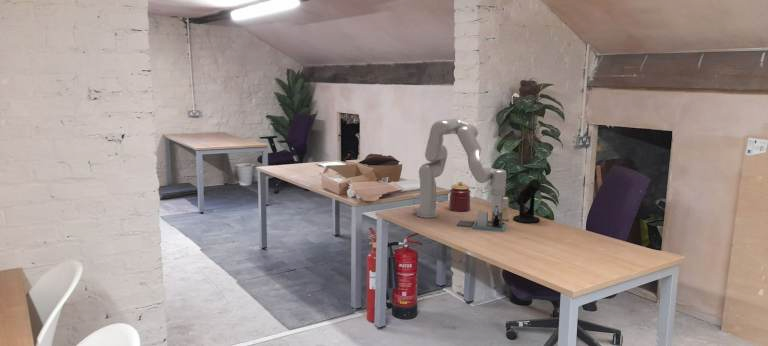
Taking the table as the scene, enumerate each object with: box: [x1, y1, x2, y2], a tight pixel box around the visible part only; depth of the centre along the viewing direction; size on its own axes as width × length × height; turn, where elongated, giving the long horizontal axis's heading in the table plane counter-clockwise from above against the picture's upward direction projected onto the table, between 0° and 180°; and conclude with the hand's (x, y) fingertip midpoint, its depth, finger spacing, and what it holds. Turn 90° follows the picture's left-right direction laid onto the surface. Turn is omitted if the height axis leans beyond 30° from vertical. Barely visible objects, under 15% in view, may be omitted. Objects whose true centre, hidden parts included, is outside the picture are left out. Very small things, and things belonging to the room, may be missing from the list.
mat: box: [456, 219, 475, 228], centre depth 311 cm, size 8×10×1 cm
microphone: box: [512, 179, 542, 225], centre depth 318 cm, size 15×17×25 cm
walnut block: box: [491, 212, 503, 228], centre depth 305 cm, size 5×5×8 cm
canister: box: [449, 181, 472, 213], centre depth 344 cm, size 13×13×18 cm
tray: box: [471, 219, 507, 233], centre depth 306 cm, size 17×15×2 cm
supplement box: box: [501, 196, 510, 221], centre depth 321 cm, size 8×5×13 cm, turn 84°
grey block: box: [476, 210, 489, 227], centre depth 307 cm, size 5×5×8 cm
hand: (497, 224), depth 305 cm, fingers closed on walnut block, 5 cm apart
